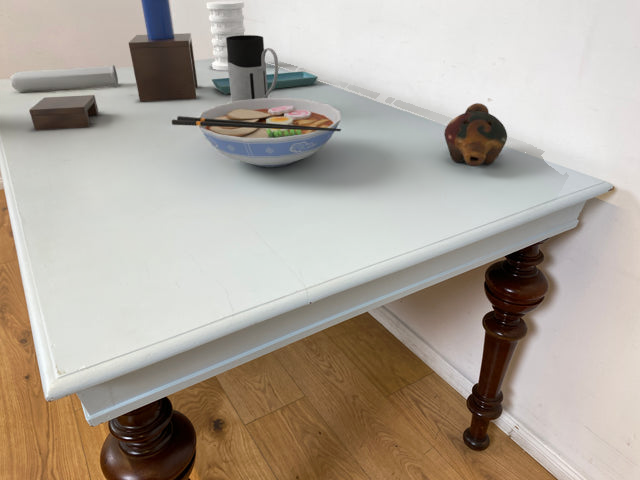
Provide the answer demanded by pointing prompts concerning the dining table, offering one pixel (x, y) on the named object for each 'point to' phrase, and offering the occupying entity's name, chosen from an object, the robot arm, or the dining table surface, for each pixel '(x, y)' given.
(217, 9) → the decorative container
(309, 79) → the teal serving tray
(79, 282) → the dining table surface
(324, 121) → the ramen bowl
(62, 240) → the dining table surface
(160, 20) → the can
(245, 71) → the glass holder
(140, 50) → the brown block
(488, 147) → the decorative turtle
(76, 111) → the low shelf
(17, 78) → the tube
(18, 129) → the dining table surface
